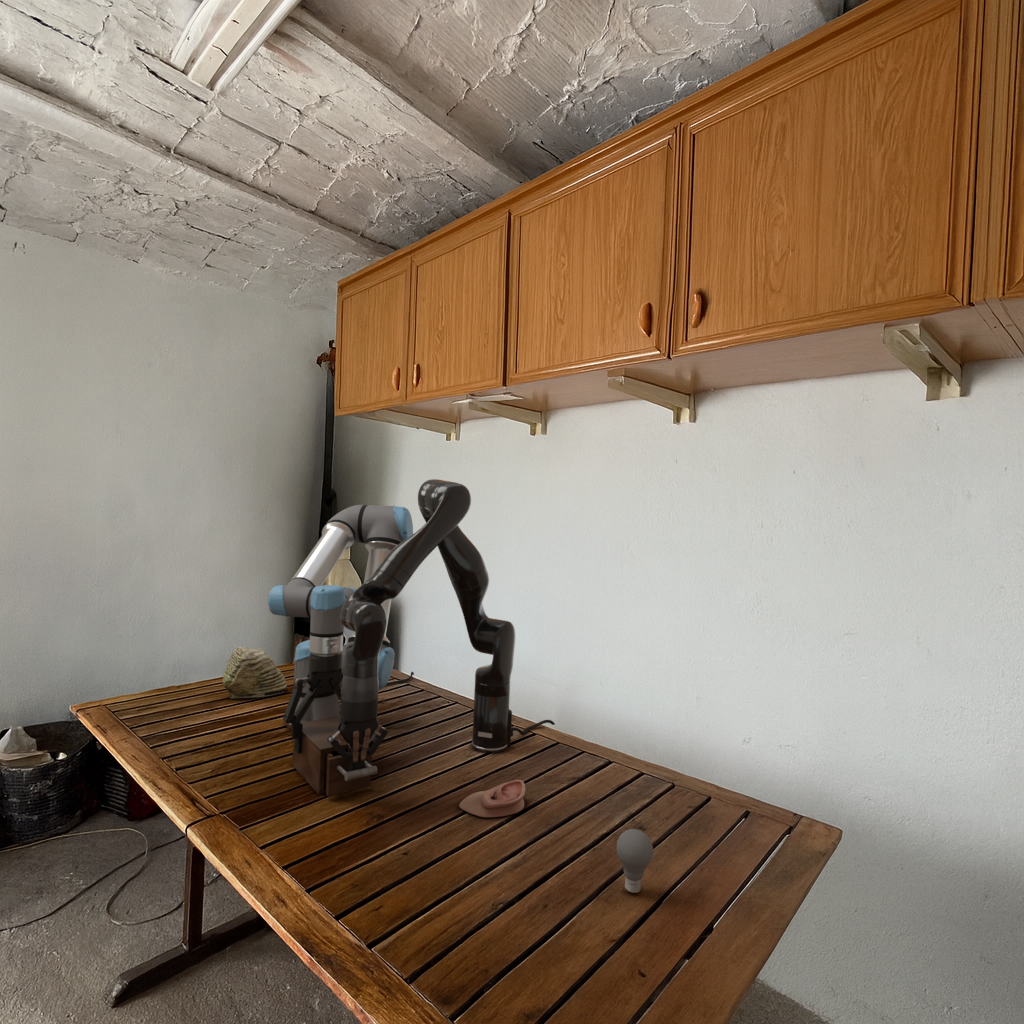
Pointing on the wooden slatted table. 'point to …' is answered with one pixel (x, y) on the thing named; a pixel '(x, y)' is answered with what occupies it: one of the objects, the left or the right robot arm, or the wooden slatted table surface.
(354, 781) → the drawer
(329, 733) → the cabinet
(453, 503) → the right robot arm
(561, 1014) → the wooden slatted table surface
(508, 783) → the anatomical model
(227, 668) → the fossil
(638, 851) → the light bulb
